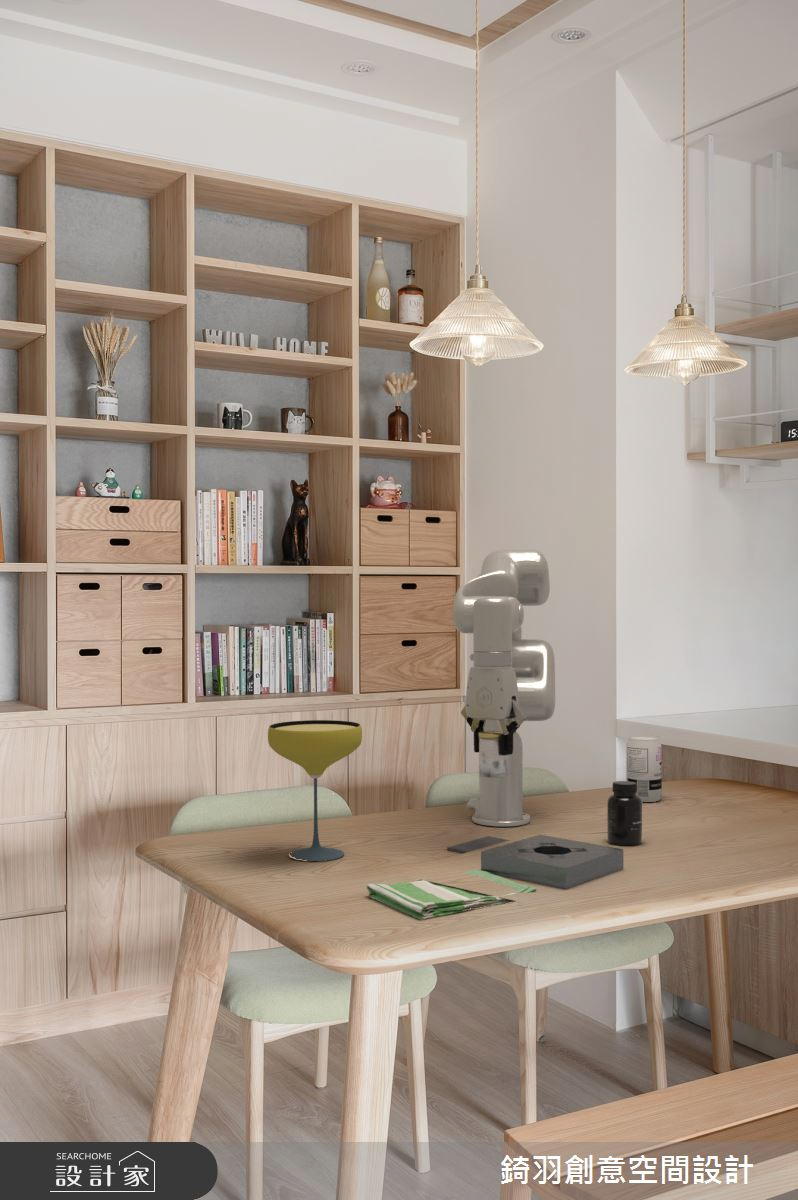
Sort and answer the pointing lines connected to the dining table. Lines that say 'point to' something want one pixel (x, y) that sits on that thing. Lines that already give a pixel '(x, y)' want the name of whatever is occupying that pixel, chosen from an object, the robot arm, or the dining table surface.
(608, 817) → the supplement bottle
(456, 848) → the mat
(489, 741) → the can with gold end
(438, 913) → the dish towel
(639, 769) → the supplement can
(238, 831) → the dining table surface
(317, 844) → the cocktail glass
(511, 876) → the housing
